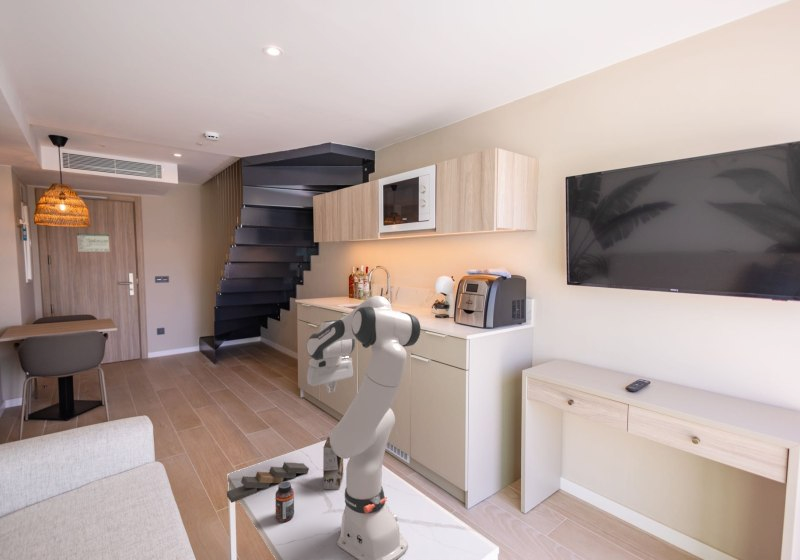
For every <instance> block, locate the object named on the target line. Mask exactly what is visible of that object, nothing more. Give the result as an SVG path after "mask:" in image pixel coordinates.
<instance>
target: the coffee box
mask: <svg viewBox="0 0 800 560" xmlns="http://www.w3.org/2000/svg"><path fill="white" fill-rule="evenodd" d="M322 448H323V453H322V454H323V456H322V457H323V459H322V460H323V462H322V464H323V466H322V467H323V479H322V481H323V483H322V484H323V490H340V488H341V485H342V482H343V478H344V459H343V458H340V457H339V456H337V455H336V454H335V453H334V451H333V450H332V448H331V445H330V436H328V437H327V439H326V441H325V442H324V445H323V447H322Z"/></svg>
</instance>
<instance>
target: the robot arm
mask: <svg viewBox="0 0 800 560" xmlns="http://www.w3.org/2000/svg"><path fill="white" fill-rule="evenodd" d="M392 308H393V307H392V304H391V303H390V301H389V300H388V299H387V298H386V297H384V296H381V295H374V296H371V297H368V298H367V299H365V300H363V302H361V303H359V304H358V305H357V306H356V307H355V308H354V309H353V310H352V311H350V312H348V313H347V314H346V315H344V316H343V317H340V318H339V319H336V320H326V321H323V322H322V323H321V327H320V331H319V332H318V333H312V334H311V335H310V336H309V338H308V339H307V341H306V352H307V355H309V356H310V357H311V358H310V359H309V361H308V365H309V366H308V369H307V373H306V381H307V384H308V385H309V386H311V387H315V386H316V387H317V386H321V385H324V386H325V387H326V392H327V393H328V394H330V393H334V392H336V387H337V385H338V381H342V380H347V379H349V378H350V379H351V378H352V377H353V376H354V368H353V358H352V357H351V356H350V355H351V353H353V351H354V349H355V345H356V340H357V341H358V342H360V343H361V345H362V347H363V348H365V349H368V348H369V347H370V348H371V356H370V360H369V362H368V364H367V366H366V369H365V372H364V374H363V377H362V380H361V383H360V386H359V389H358V390H357V393H356V395H355V396H354V398H353V400H352V401H351V403H350V405H349V406H348V408H347V409H346V411H345V413H344V415H343V416H342V418H341V419H340V420H339V422H338V423H337V424H336V425H335V426H334V427H333V428H332V429H331V431H330V435H329V437H330V445H331V448H332V450H333V451H334V453H335V454H336V455H337V456H339V457H340V458H343V460H344V459H347V460H348V461H347V463H346V468H345V470H346V472H345V473H346V475H345V476H346V479H345V481H346V485H345V489H344V503H345V505H344V510H343V513H342V517H341V528H340V534H339V535H340V536H339V537H338V540H337V546H338V547H339V548H340V549H342V550H344V551H345V552H347V553H348V554H350V555H351V556H353V557H354V558H356V559H357V560H398V559H399V558H401V557H402V556H403V555H404V553H406V551H407V549H408V547H409V544H408V541H407V540H406V539H405V537H404V536H403V534H402V533H401V532H400V526H399V523H398V516H397V513H392V512H391V510H390V508H389V504H387V503H386V502H387V501H388V500H387V498H388V497H386V496H385V491H384V489H383V485H382V474H383V462H384V456H385V452H386V449H387V444H388V441H389V438H390V434H391V432H392V430H393V428H394V427H395V425H396V416H395V413H394V412H393V411H394V410H393V409H392V408H391V407H392V406H393V403H394V401H395V399H396V397H397V393H398V390H399V389H400V388H399V387H400V385H401V383H402V379H403V376H404V374H405V368H406V363H407V359H408V355H407V351H406V349H405V347H411V346H414V345H415V344H416V343H417V341H418V340H419V338H420V336H421V328H422V327H421V324H420V321H419V319H418V317H416V316H415V315H413V314H411V313H408V312H404V311H398V310H393V309H392ZM355 339H356V340H355ZM331 383H332V384H331ZM330 384H331V386H329V385H330Z"/></svg>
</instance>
